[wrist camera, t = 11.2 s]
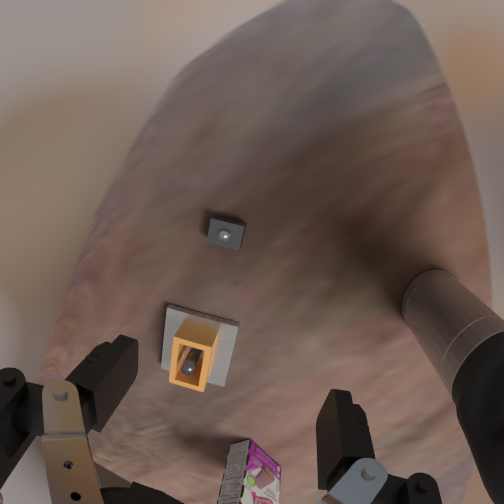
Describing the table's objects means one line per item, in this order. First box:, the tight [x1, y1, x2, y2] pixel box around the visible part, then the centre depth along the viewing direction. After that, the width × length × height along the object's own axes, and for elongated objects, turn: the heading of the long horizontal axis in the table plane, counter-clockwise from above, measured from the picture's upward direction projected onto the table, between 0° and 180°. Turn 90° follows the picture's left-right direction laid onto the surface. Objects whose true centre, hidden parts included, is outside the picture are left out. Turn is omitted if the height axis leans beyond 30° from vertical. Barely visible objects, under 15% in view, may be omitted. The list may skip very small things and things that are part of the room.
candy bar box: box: [217, 439, 281, 504], centre depth 43 cm, size 11×5×16 cm, turn 34°
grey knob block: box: [206, 216, 246, 251], centre depth 38 cm, size 4×3×3 cm
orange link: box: [169, 322, 218, 392], centre depth 41 cm, size 5×8×4 cm, turn 167°
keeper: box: [161, 304, 240, 387], centre depth 41 cm, size 10×11×6 cm
